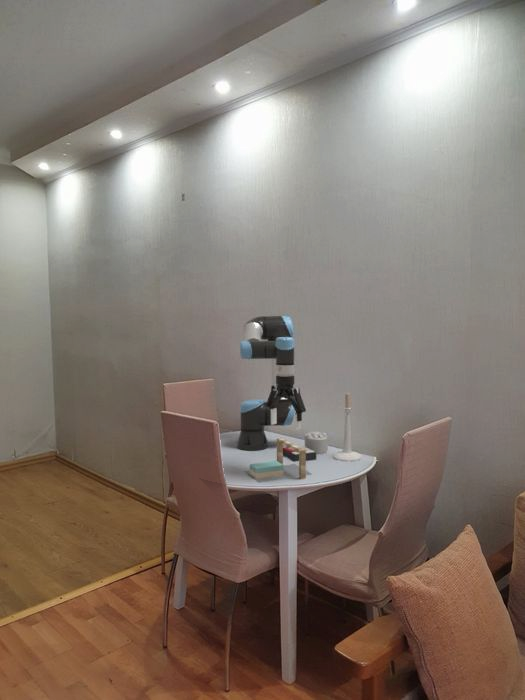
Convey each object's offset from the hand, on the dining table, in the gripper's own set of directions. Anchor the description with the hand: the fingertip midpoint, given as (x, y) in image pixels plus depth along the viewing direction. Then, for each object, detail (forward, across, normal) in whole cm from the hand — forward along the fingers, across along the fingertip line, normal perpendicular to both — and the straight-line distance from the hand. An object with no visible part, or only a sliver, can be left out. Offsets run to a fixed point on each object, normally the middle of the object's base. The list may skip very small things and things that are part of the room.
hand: (285, 426), depth 215 cm
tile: (+19, -4, -7) cm, 21 cm away
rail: (+20, -1, +4) cm, 20 cm away
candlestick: (+20, +3, +37) cm, 42 cm away
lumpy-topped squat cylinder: (+20, -14, +36) cm, 44 cm away
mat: (+20, -3, -2) cm, 20 cm away
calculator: (+20, -14, +23) cm, 33 cm away
